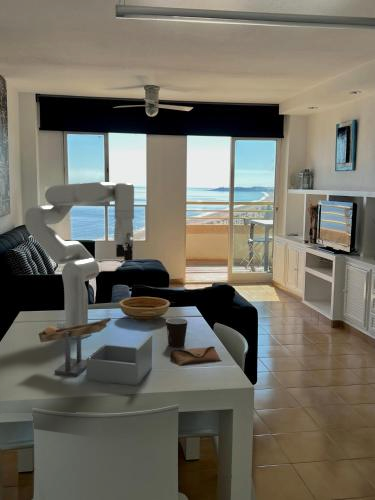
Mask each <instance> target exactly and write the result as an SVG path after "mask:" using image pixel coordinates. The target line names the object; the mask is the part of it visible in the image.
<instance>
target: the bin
mask: <svg viewBox="0 0 375 500" xmlns="http://www.w3.org/2000/svg"><path fill="white" fill-rule="evenodd" d="M85 360H86V369H85V372H86V373H85V375H86V376H85V377H86V381H92V382H101V383H110V384H119V385H128V386H133V387H134V386H135V387H138V386H139V385H140V384H141V383H142V381H143V380H144V379H145V377H147V375H148V374H149V372H150V371H152V368H153V334H150V335H148V337H146V339H144V341H142V342H141V344H140V345H139V346H138V347H135V346H125V345H116V344H115V345H114V344H105V343H104V344H103V345H102V346H100V347H99V348H98V349H97V350H95V352H93V353H92V354H91V355H89V357H87V358H86V359H85Z"/></svg>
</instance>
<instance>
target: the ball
mask: <svg viewBox="0 0 375 500" xmlns="http://www.w3.org/2000/svg"><path fill="white" fill-rule="evenodd" d="M56 329H57V328H55V327H54V326H52V325H48V326H47V327H46V328H45V329H44V330H45V334H46V335H47V334H52V333H56Z"/></svg>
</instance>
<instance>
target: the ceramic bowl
mask: <svg viewBox="0 0 375 500" xmlns="http://www.w3.org/2000/svg"><path fill="white" fill-rule="evenodd" d="M118 304H119V309H120V311H121V312H122V313H123V314H124V315H125V316H127V317H129V318H131V319H132V320H133V321H135V322H141V323H146V322H147V323H149V322H153V321H155V320H157V319H158V318H160V317H162V316H163V315H165V314H166V313H167V312H168V310H169V308H170V307H169V306H170V305H171V302H170V301H169V300H167V299H165V298H160V297H151V296H138V297H137V296H136V297H128V298H125V299H122V300H120V301H119V302H118Z"/></svg>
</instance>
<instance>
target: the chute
mask: <svg viewBox="0 0 375 500" xmlns="http://www.w3.org/2000/svg"><path fill="white" fill-rule="evenodd" d="M110 321H112V319H111V318H110V317H108V318H104V319H101V320H99V321H94V322H88V324H83V325H78V326H72V327H67V328H62V329H58V328H55V329H56V333H52V334H47V335H46V334H45V329H44V330H42V331H41V332H38V337H39V341H40V343H46V342H51V341H57V340H64V339H65V333H66V332H70V337H74V336H80V335H85V334H91V333H92V334H95V333H100V332H101V331H102V330H104V329H105V328H106V327H108V326H107V325H108V324H107V323H109V322H110ZM92 334H91V335H92Z"/></svg>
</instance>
